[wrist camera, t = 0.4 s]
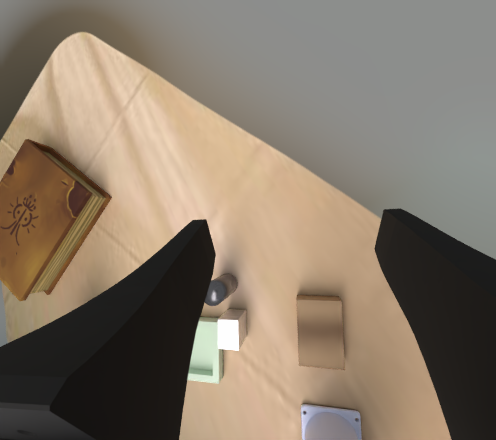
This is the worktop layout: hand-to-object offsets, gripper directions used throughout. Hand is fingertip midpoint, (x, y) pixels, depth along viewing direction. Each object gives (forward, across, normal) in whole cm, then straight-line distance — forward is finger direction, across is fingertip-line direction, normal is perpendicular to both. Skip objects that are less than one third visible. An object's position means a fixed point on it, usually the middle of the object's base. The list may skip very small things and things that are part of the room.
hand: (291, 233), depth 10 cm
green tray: (+11, +15, +32) cm, 37 cm away
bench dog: (+13, +8, +28) cm, 32 cm away
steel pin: (+17, +10, +24) cm, 31 cm away
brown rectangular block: (+13, -4, +28) cm, 31 cm away
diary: (+28, +46, +16) cm, 56 cm away
